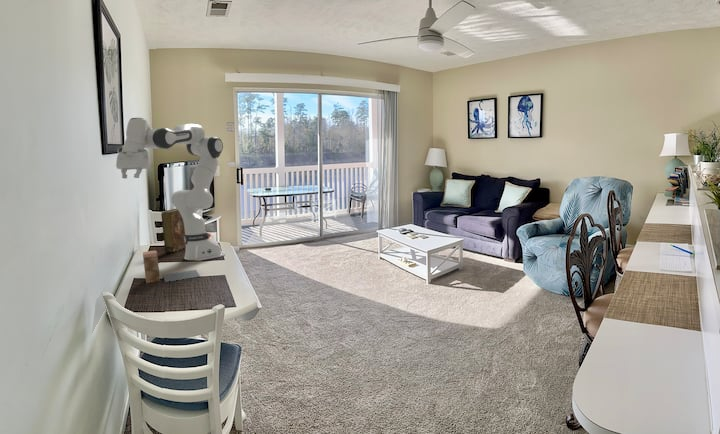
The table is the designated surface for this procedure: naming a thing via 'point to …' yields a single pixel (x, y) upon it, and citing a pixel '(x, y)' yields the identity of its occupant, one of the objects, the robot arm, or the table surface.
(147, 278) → the walnut block
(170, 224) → the book
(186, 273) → the mat
